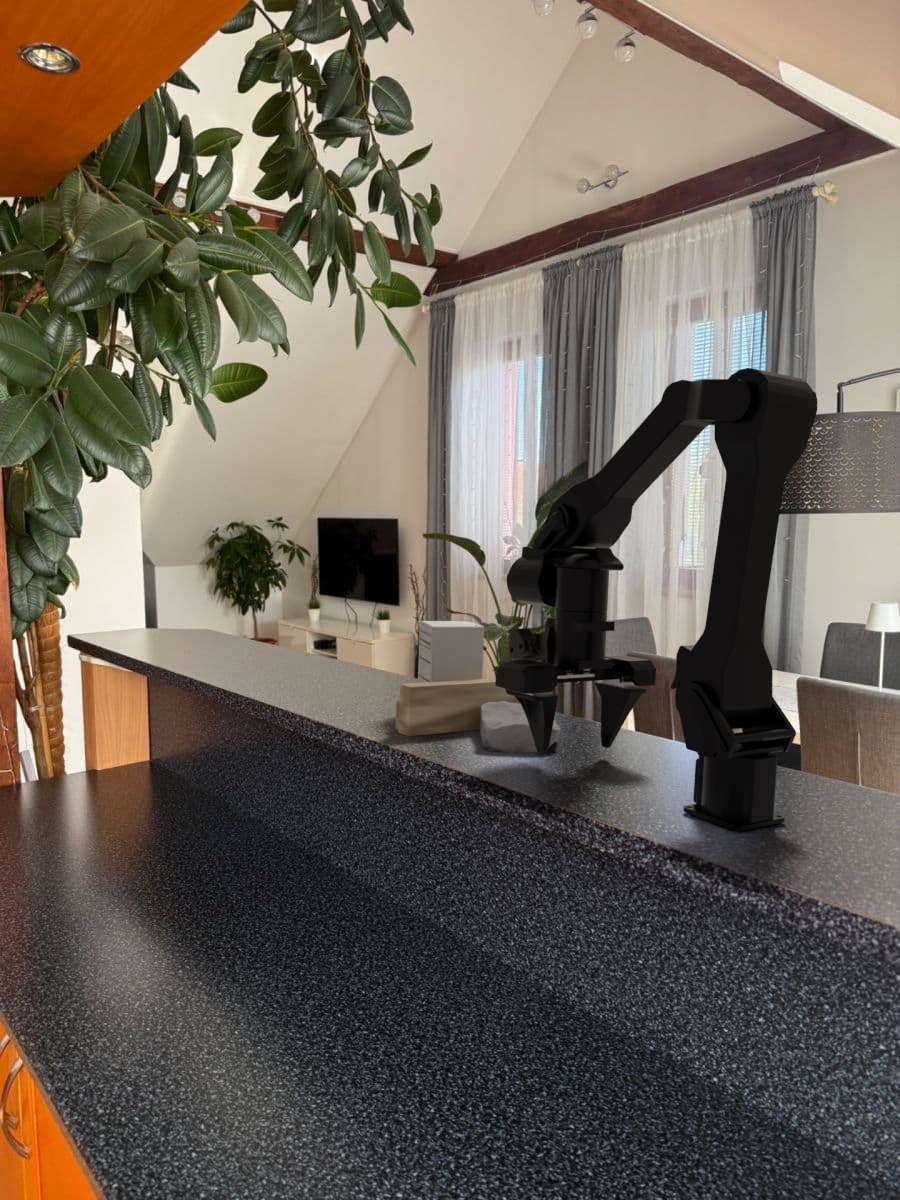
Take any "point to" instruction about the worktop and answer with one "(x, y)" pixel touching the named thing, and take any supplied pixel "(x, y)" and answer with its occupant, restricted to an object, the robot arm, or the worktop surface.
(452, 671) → the supplement box
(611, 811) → the worktop surface
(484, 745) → the stone block
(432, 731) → the block
